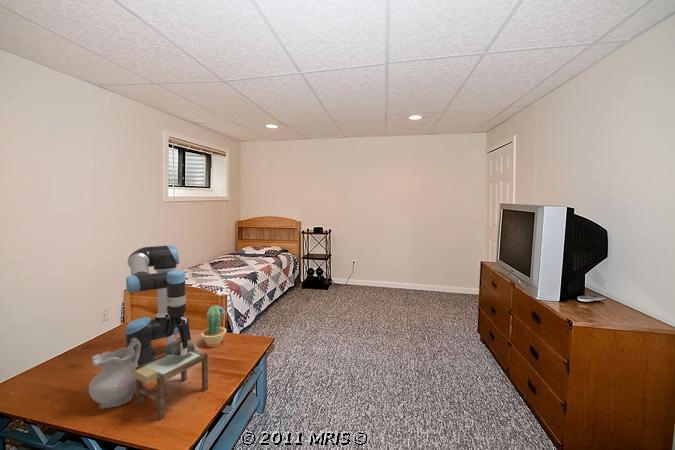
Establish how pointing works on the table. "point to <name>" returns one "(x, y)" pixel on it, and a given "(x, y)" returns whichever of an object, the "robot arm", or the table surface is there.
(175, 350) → the rock
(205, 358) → the stand
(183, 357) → the trapdoor
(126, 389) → the ceramic pitcher
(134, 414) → the table surface
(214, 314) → the potted cactus
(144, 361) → the robot arm
